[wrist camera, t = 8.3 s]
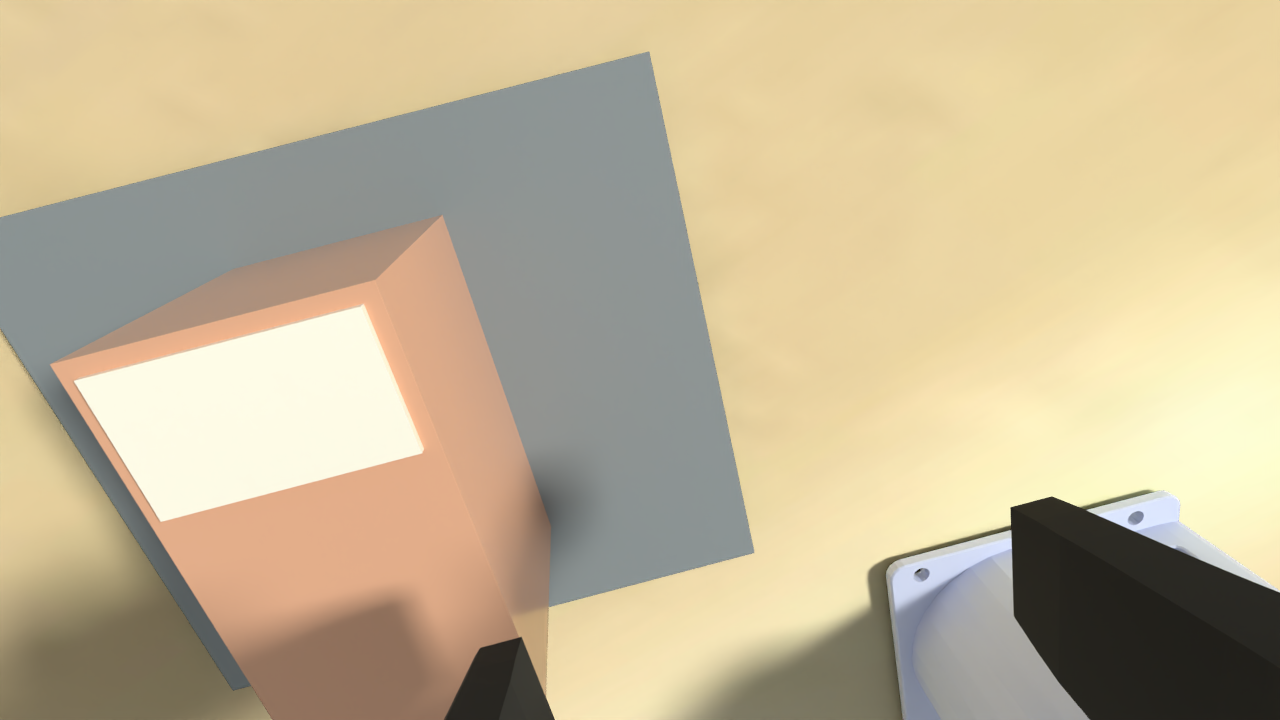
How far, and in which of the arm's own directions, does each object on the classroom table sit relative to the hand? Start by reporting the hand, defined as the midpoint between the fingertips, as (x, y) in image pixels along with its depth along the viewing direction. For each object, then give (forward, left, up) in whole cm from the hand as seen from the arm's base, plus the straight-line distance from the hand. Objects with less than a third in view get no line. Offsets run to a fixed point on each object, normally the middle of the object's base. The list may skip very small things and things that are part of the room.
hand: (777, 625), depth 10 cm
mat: (+7, -1, -9) cm, 12 cm away
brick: (+7, -1, -9) cm, 11 cm away
